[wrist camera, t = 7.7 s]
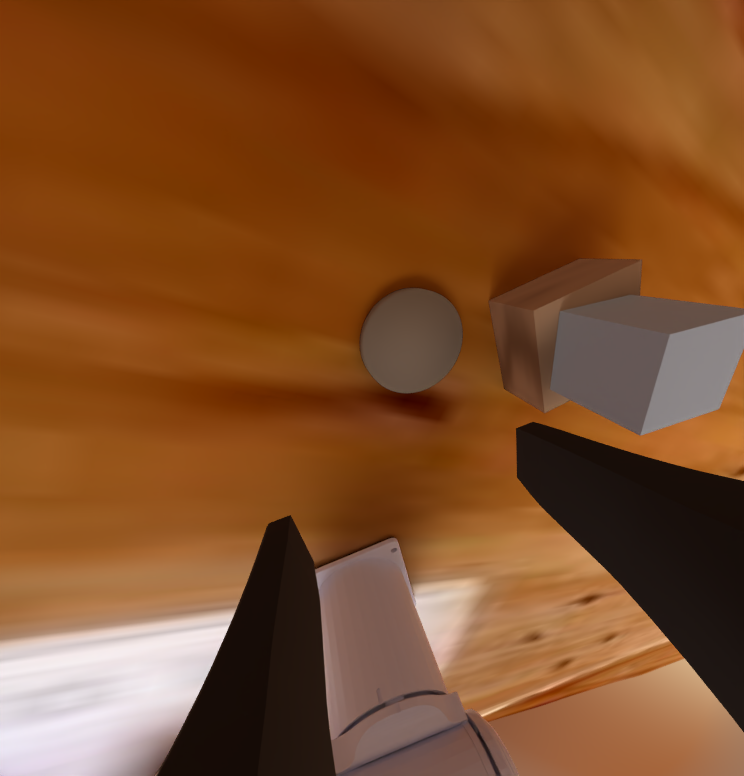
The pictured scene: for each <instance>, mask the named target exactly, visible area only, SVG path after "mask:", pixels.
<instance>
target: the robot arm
mask: <svg viewBox="0 0 744 776" xmlns="http://www.w3.org/2000/svg"><path fill="white" fill-rule="evenodd" d="M516 442H517V478H518V479H519V480H520V481H521V483H522V484H523V485H524V486H525V488H526V489H527V490H528V492H529V493H530V494H531V495H532V496H533V498H534V499H535V500H536V501H537V502H538V503H539V505H540V506H541V507H542V508H543V509H544V510H545V511H546V512H547V513H548V514H549V515H550V516H551V517H552V518H553V519H554V520H556V521H557V522H558V523H559V524H560V525H561V526H562V527H563V528H564V529H565V530H566V531H567V532H568V533H569V534H570V535H571V536H572V537H573V538H574V539H575V540H576V541H577V542H578V543H579V544H580V545H581V546H582V547H583V548H584V549H585V550H587V551H588V552H589V553H590V554H591V555H592V556H593V557H594V558H595V559H596V560H597V561H598V562H599V563H600V564H601V565H602V566H603V567H604V568H605V569H606V570H607V571H608V572H609V573H610V574H611V575H612V576H613V577H614V578H615V579H616V580H617V581H618V582H619V583H620V584H621V585H622V586H623V588H624V589H625V590H626V591H627V592H628V593H629V594H630V596H631V597H632V598H633V599H634V600H635V601H636V602H637V603H638V605H639V606H640V607H641V608H642V609H643V610H644V611H645V613H646V614H647V615H648V616H649V617H650V618H651V619H652V620H653V622H654V623H655V624H656V625H657V626H658V627H659V629H660V630H661V631H662V632H663V633H664V635H665V636H666V637H667V638H668V639H669V640H670V642H671V643H672V644H673V645H674V646H675V648H676V649H677V650H678V651H679V652H680V653H681V655H682V656H683V657H684V658H685V659H686V660H687V662H688V663H689V664H690V665H691V666H692V668H693V669H694V670H695V672H696V673H697V674H698V675H699V676H700V678H701V679H702V680H703V681H704V683H705V684H706V685H707V687H708V688H709V689H710V690H711V691H712V693H713V694H714V695H715V696H716V698H717V699H718V700H719V701H720V703H721V704H722V705H723V706H724V708H725V709H726V710H727V711H728V712H729V714H730V715H731V716H732V718H733V719H734V720H735V721H736V723H737V724H738V725H739V727H740V728H741V729H742V731H743V732H744V481H741V480H737V479H732V478H728V477H723V476H719V475H714V474H710V473H706V472H701V471H697V470H693V469H689V468H685V467H681V466H677V465H674V464H670V463H666V462H663V461H659V460H655V459H652V458H648V457H645V456H641V455H638V454H634V453H631V452H628V451H624V450H621V449H618V448H615V447H612V446H608V445H605V444H602V443H599V442H596V441H593V440H590V439H586V438H583V437H580V436H577V435H574V434H571V433H568V432H565V431H562V430H559V429H556V428H552V427H549V426H546V425H543V424H539V423H535V422H532V423H529V424H526V425H524V426H521V427H519V428H516ZM415 606H416V602H415V598H414V595H413V592H412V588H411V585H410V581H409V578H408V574H407V571H406V567H405V564H404V560H403V557H402V554H401V550H400V547H399V543H398V541H397V539H396V538H390V539H387V540H385V541H382V542H380V543H377V544H375V545H373V546H370V547H368V548H365V549H363V550H361V551H358V552H356V553H353V554H351V555H349V556H346V557H344V558H341V559H339V560H336V561H334V562H332V563H329V564H327V565H324V566H322V567H320V568H317V569H315V567H314V561H313V559H312V557H311V555H310V553H309V551H308V549H307V547H306V545H305V543H304V541H303V539H302V537H301V535H300V533H299V531H298V529H297V527H296V525H295V523H294V521H293V519H292V517H291V515H290V516H287V517H284V518H282V519H279V520H277V521H274V522H271V523H269V524H268V526H267V528H266V531H265V534H264V537H263V540H262V543H261V545H260V548H259V551H258V554H257V557H256V560H255V562H254V565H253V568H252V571H251V573H250V576H249V579H248V581H247V584H246V586H245V589H244V591H243V594H242V597H241V599H240V602H239V604H238V607H237V609H236V612H235V614H234V617H233V619H232V621H231V624H230V626H229V628H228V631H227V633H226V635H225V637H224V640H223V642H222V644H221V647H220V649H219V651H218V653H217V656H216V658H215V660H214V662H213V665H212V667H211V669H210V671H209V673H208V675H207V678H206V680H205V682H204V684H203V686H202V688H201V690H200V692H199V694H198V696H197V698H196V700H195V702H194V704H193V706H192V708H191V710H190V712H189V714H188V716H187V718H186V720H185V722H184V724H183V726H182V728H181V730H180V732H179V734H178V736H177V738H176V740H175V742H174V744H173V746H172V748H171V749H170V751H169V753H168V755H167V757H166V759H165V761H164V762H163V764H162V766H161V768H160V770H159V772H158V774H157V775H156V776H520V775H519V773H518V771H517V768H516V767H515V764H514V762H513V760H512V758H511V756H510V754H509V752H508V751H507V749H506V747H505V745H504V743H503V742H502V740H501V739H500V737H499V735H498V734H497V732H496V731H495V730H494V728H493V727H492V726H491V725H490V724H489V723H488V722H487V721H486V720H485V719H483V718H482V717H481V715H480V714H478V713H477V712H476V711H475V710H473V709H468V710H465V711H464V708H463V706H462V703H461V701H460V698H459V696H458V693H457V692H452V693H449V694H448V691H447V689H446V686H445V684H444V681H443V678H442V676H441V673H440V670H439V668H438V665H437V663H436V660H435V657H434V655H433V652H432V650H431V647H430V644H429V642H428V639H427V636H426V634H425V631H424V629H423V626H422V623H421V621H420V618H419V616H418V613H417V610H416V608H415ZM329 728H330V729H329Z"/></svg>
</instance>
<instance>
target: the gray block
mask: <svg viewBox="0 0 744 776" xmlns="http://www.w3.org/2000/svg"><path fill="white" fill-rule="evenodd" d="M743 349H744V309H743V308H735V307H727V306H719V305H710V304H702V303H694V302H686V301H678V300H670V299H662V298H654V297H645V296H637V295H627V296H623V297H619V298H614V299H610V300H606V301H601V302H597V303H593V304H589V305H584V306H580V307H576V308H571V309H567V310H563V311H560V314H559V322H558V330H557V338H556V346H555V354H554V362H553V370H552V377H551V385H550V390H552V391H554V392H556V393H558V394H560V395H562V396H564V397H566V398H568V399H570V400H572V401H573V402H575V403H577V404H579V405H581V406H583V407H585V408H587V409H589V410H591V411H593V412H595V413H597V414H599V415H601V416H603V417H605V418H607V419H609V420H611V421H613V422H615V423H617V424H619V425H621V426H622V427H624V428H626V429H628V430H630V431H632V432H634V433H636V434H638V435H640V436H641V435H644V434H647V433H649V432H652V431H655V430H658V429H661V428H664V427H667V426H670V425H673V424H676V423H679V422H682V421H685V420H688V419H691V418H694V417H697V416H700V415H703V414H706V413H709V412H712V411H715V410H718V409H719V408H720V405H721V403H722V400H723V398H724V395H725V393H726V391H727V388H728V386H729V383H730V381H731V378H732V376H733V373H734V371H735V369H736V366H737V364H738V361H739V359H740V356H741V354H742V352H743Z"/></svg>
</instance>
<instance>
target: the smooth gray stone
mask: <svg viewBox="0 0 744 776" xmlns="http://www.w3.org/2000/svg"><path fill="white" fill-rule="evenodd" d="M462 338H463V331H462V324H461V320H460V317H459V315H458V312H457V311H456V309H455V307H454V306H453V305H452V304H451V302H450V301H449V300H447V299H446V298H445V297H443V296H442V295H440V294H438V293H436V292H433V291H430V290H425V289H421V288H405V289H400V290H397V291H394V292H392V293H390V294H388V295H387V296H385V297H384V298H382V299H381V300H380V301H379V302H378V303H377V304H376V305H375V306H374V307H373V308H372V309H371V311H370V312H369V314H368V315H367V317H366V319H365V321H364V324H363V327H362V330H361V334H360V352H361V357H362V360H363V362H364V365H365V367H366V368H367V370H368V371H369V373H370V374H371V375H372V377H373V378H374V379H375V380H376V381H377V382H378V383H379V384H380V385H382V386H383V387H385V388H387V389H389V390H391V391H394V392H398V393H414V392H419V391H423V390H425V389H428V388H430V387H431V386H433V385H435V384H436V383H438V382H439V381H440V380H441V379H443V378H444V377H445V376H446V375H447V374H448V372H449V371H450V370H451V368H452V367H453V365H454V364H455V362H456V360H457V358H458V356H459V353H460V350H461V345H462Z"/></svg>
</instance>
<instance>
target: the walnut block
mask: <svg viewBox="0 0 744 776" xmlns="http://www.w3.org/2000/svg"><path fill="white" fill-rule="evenodd" d="M641 269H642V260H636V259H578V260H576V261H573V262H571V263H569V264H567V265H565V266H563V267H560V268H558V269H556V270H554V271H552V272H550V273H547V274H545V275H543V276H541V277H539V278H537V279H534V280H532V281H530V282H528V283H526V284H524V285H521V286H519V287H517V288H515V289H513V290H511V291H508V292H506V293H504V294H502V295H500V296H498V297H495V298H493V299H491V300H489V306H490V312H491V317H492V323H493V329H494V334H495V340H496V345H497V351H498V357H499V362H500V368H501V374H502V379H503V385H504V389H505V390H507V391H509V392H510V393H512V394H514V395H515V396H517V397H519V398H520V399H522V400H524V401H525V402H527V403H529V404H530V405H532V406H534V407H535V408H537V409H539V410H540V411H542V412H544V413H546V412H548V411H550V410H552V409H554V408H556V407H558V406H560V405H562V404H564V403H566V402H568V401H570V399H568V398H566V397H564V396H562V395H560V394H558V393H556V392H554V391H552V390H550V385H551V377H552V370H553V362H554V354H555V346H556V338H557V330H558V322H559V314H560V311H563V310H567V309H571V308H576V307H580V306H584V305H589V304H593V303H597V302H601V301H606V300H610V299H614V298H619V297H623V296H627V295H637V296H640V286H641Z"/></svg>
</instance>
